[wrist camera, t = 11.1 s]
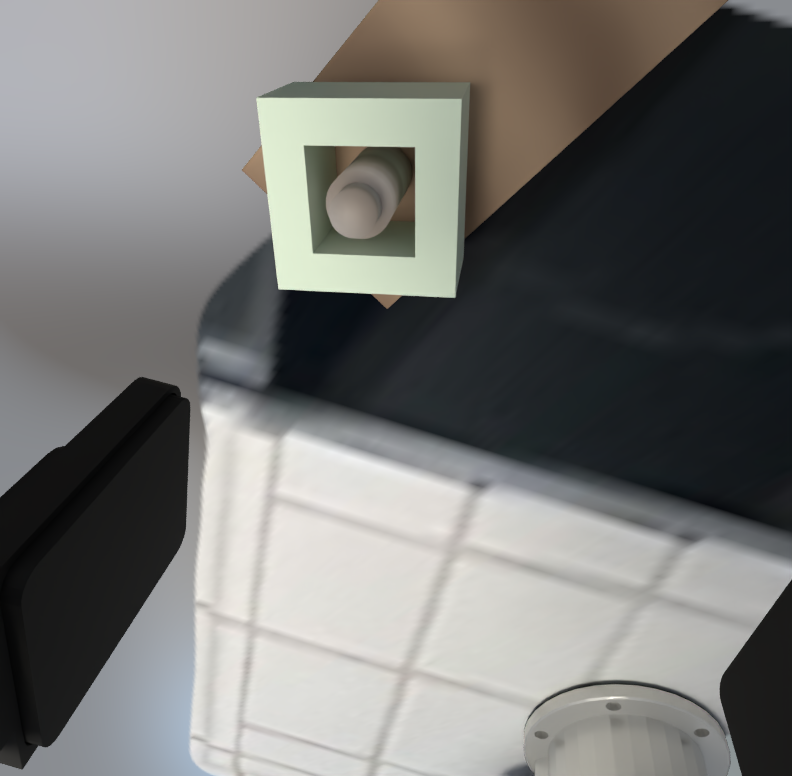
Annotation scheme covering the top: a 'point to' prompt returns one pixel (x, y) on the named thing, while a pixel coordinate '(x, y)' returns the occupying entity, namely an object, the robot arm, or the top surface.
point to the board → (493, 90)
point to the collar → (316, 170)
